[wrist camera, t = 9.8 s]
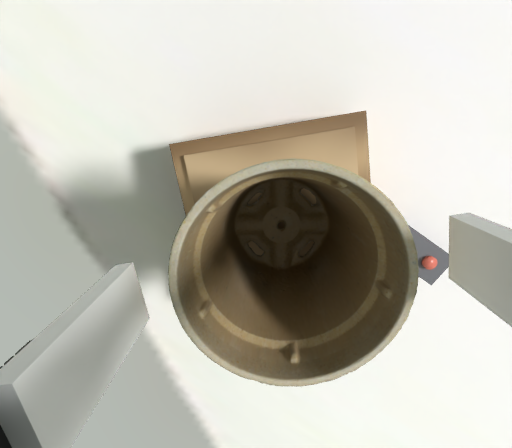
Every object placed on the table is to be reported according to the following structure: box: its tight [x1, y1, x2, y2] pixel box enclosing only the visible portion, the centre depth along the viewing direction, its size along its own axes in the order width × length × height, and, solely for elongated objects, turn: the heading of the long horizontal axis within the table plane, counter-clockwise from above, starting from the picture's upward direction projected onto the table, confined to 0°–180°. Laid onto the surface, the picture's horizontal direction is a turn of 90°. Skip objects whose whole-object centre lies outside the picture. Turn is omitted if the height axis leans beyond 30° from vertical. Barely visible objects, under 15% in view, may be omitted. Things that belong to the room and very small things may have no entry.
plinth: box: [169, 111, 371, 256], centre depth 22 cm, size 12×12×4 cm
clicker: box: [408, 225, 449, 285], centre depth 24 cm, size 5×3×2 cm, turn 56°
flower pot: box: [168, 158, 419, 386], centre depth 16 cm, size 9×9×9 cm
